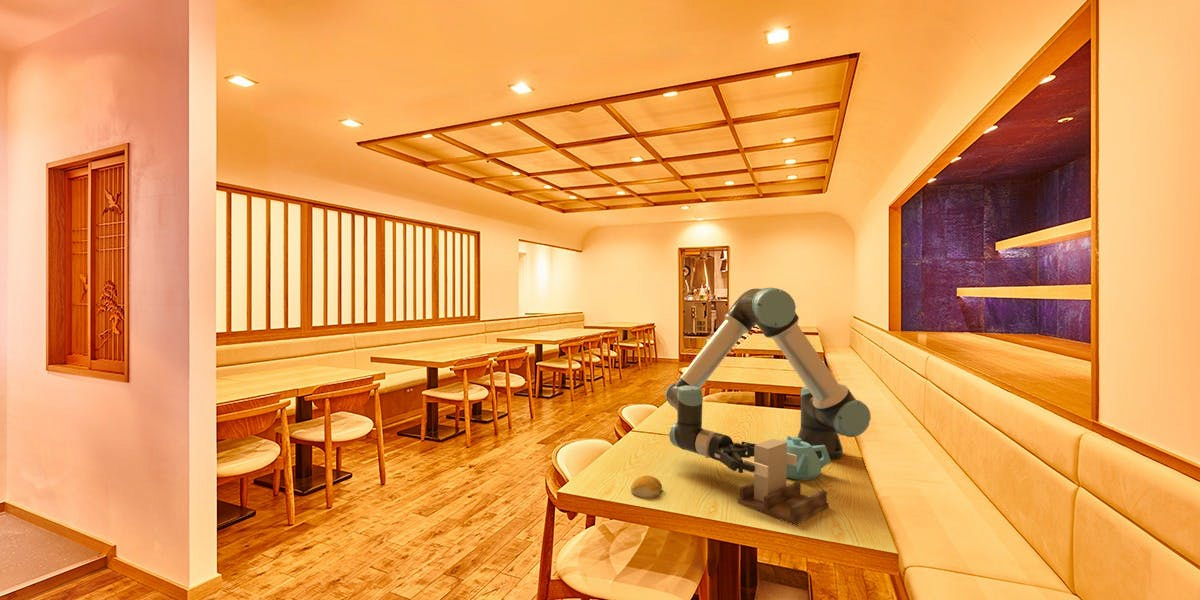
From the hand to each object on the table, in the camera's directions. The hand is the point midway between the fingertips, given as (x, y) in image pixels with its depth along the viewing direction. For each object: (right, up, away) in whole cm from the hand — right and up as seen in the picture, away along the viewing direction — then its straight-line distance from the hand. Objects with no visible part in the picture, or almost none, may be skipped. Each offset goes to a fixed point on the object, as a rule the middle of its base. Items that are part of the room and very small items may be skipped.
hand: (782, 466), depth 124 cm
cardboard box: (-2, -9, +3) cm, 10 cm away
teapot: (+13, -10, +23) cm, 28 cm away
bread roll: (-34, -10, +8) cm, 37 cm away
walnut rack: (0, -10, 0) cm, 10 cm away
